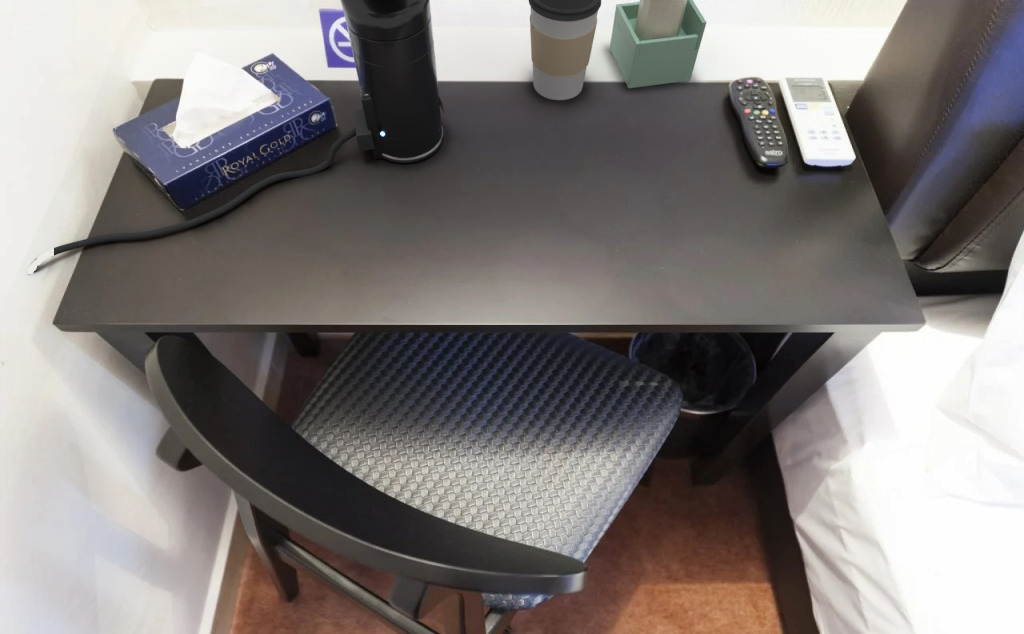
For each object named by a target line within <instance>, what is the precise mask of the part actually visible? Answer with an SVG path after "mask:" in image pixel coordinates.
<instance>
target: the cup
mask: <svg viewBox="0 0 1024 634" xmlns="http://www.w3.org/2000/svg"><path fill="white" fill-rule="evenodd" d="M638 2H639V8H638V13H637V19H636V24H635V30H634V32H635V34H636V35H637V37H638V39H639V40H640V41H645V40H653V39H661V38H669V37H678V35H679V32H680V28H681V24H682V19H683V15H684V11H685V7H686V3H687V0H639V1H638Z"/></svg>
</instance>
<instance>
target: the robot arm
mask: <svg viewBox="0 0 1024 634" xmlns="http://www.w3.org/2000/svg"><path fill="white" fill-rule="evenodd" d="M340 4H341V8H342V11H343V16H344V20H345V24H346V28H347V34H348V38H349V43H350V47H351V52H352V57H353V61H354V67H355V71H356V76H357V80H358V88H359V94H360V100H361V104H362V105H361V106H362V108H360V109H354V110H353V118H354V126H355V127H353V128H352V129H350V131H348V132H346V133H345V134H343V135H342V136H340V137H339V138H338V139H336V140H335V141H334V142H333V144H331V146H330V148H329V150H328V153H327V155H326V156H327V157H326V159H325V160H324V161H322V162H321V163H320V164H318V165H315V166H313V167H310V168H305V169H300V170H290V171H285V172H280V173H276V174H273V175H270V176H268V177H266V178H264V179H262V180H260V181H258V182H257V183H255V184H253V185H252V186H250V187H249V188H247V189H246V190H244V191H243V192H242V193H240V194H239V195H237V196H236V197H234V198H233V199H231V200H230V201H228V202H227V203H225V204H223V205H221V206H219V207H218V208H216V209H213V210H210V211H209V212H206V213H204V214H201V215H199V216H196V217H194V218H191V219H189V220H186V221H182V222H179V223H176V224H172V225H169V226H165V227H161V228H156V229H152V230H146V231H135V232H120V233H109V234H107V233H106V234H101V235H97V236H93V237H88V238H85V239H81V240H77V241H72V242H68V243H64V244H61V245H58V246H55V247H53V248H54V256H53V257H55V256H57V255H61V254H62V253H67V252H69V251H73V250H77V249H81V248H85V247H86V248H87V247H89V246H93V245H97V244H101V243H107V242H108V243H109V242H116V241H117V242H119V241H136V240H144V239H151V238H157V237H161V236H165V235H168V234H172V233H176V232H180V231H183V230H186V229H189V228H193V227H195V226H198V225H200V224H204V223H205V222H208V221H210V220H212V219H215V218H216V217H219V216H221V215H223V214H225V213H227V212H228V211H229V212H230V211H231V210H232V209H234V208H235V207H237V206H238V205H240V204H241V203H243V202H244V201H245V200H247V199H248V198H250V197H251V196H252V195H254V194H255V193H257V192H259V191H260V190H261V189H263V188H265V187H267V186H268V185H271V184H273V183H276V182H278V181H282V180H286V179H293V178H301V177H308V176H311V175H315V174H318V173H320V172H322V171H324V170H326V169H327V168H328V167H330V166H331V165H332V164H333V162H334V159H335V157H336V153H337V151H338V150H339V148H340V147H342V146H343V145H344V144H345V143H346V142H348V141H350V140H351V139H353V138H354V137H356V140H357V144H358V148H359V151H360V152H362V151H363V152H364V151H370V150H371V151H372V155H373V159H374V160H379V159H384V160H386V161H388V162H391V163H396V164H412V163H413V164H415V163H419V162H420V161H424V160H426V159H429V158H430V157H433V155H435V154H436V153H437V152H438V151H439V150H440V148H441V146H442V144H443V141H444V129H443V120H442V116H441V115H442V114H441V110H442V113H443V114H445V110H444V103H443V102H442V99H441V97H440V95H439V94H440V93H439V83H438V74H437V62H436V61H437V60H436V53H435V41H434V32H433V30H434V29H433V22H432V12H431V11H432V10H431V2H430V0H340Z"/></svg>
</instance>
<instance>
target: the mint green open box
mask: <svg viewBox="0 0 1024 634" xmlns="http://www.w3.org/2000/svg"><path fill="white" fill-rule="evenodd" d="M639 2H640V1H635V2H625V3H618V4H617V3H616V5H615V11H614V18H613V24H612V31H611V37H610V45H609V51H610V54H611V55H612V57H613V59H614V62H615V64H616V66H617V68H618V70H619V72H620V74H621V76H622V79H623V80H624V82H625V85H626V88H627V89H635V88H643V87H652V86H660V85H666V84H674V83H675V84H676V83H681V82H690V81H691V80H692V76H693V72H694V69H695V65H696V61H697V58H698V54H699V50H700V47H701V44H702V40H703V37H704V33H705V30H706V26H707V20H706V19H705V17H704V16H703V14H702V13H701V10H700V9H699V7H698V6H697V5H696V3H695V1H694V0H687V3H686V7H685V11H684V15H683V19H682V24H681V28H680V32H679V35H678V37H669V38H661V39H653V40H645V41H640V40H639V39H638V37H637V35H636V34H635V32H634V30H635V24H636V19H637V13H638V8H639Z"/></svg>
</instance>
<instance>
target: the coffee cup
mask: <svg viewBox="0 0 1024 634" xmlns="http://www.w3.org/2000/svg"><path fill="white" fill-rule="evenodd" d="M528 4H529V6H530V15H529V30H530V55H531V63H532V82H533V83H532V84H533V88H534V90H535V91H536V93H537V94H539V95H540V96H542V97H544V98H546V99H547V100H553V101H566V100H570V99H573V98H575V97H577V96H578V95H579V94H581V92H582V90H583V87H584V81H585V78H586V77H585V76H586V73H587V67H588V66H589V64H590V59H591V54H592V48H593V44H594V40H595V35H596V31H597V25H598V14H599V10H600V8H601V6H602V0H528Z"/></svg>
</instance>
